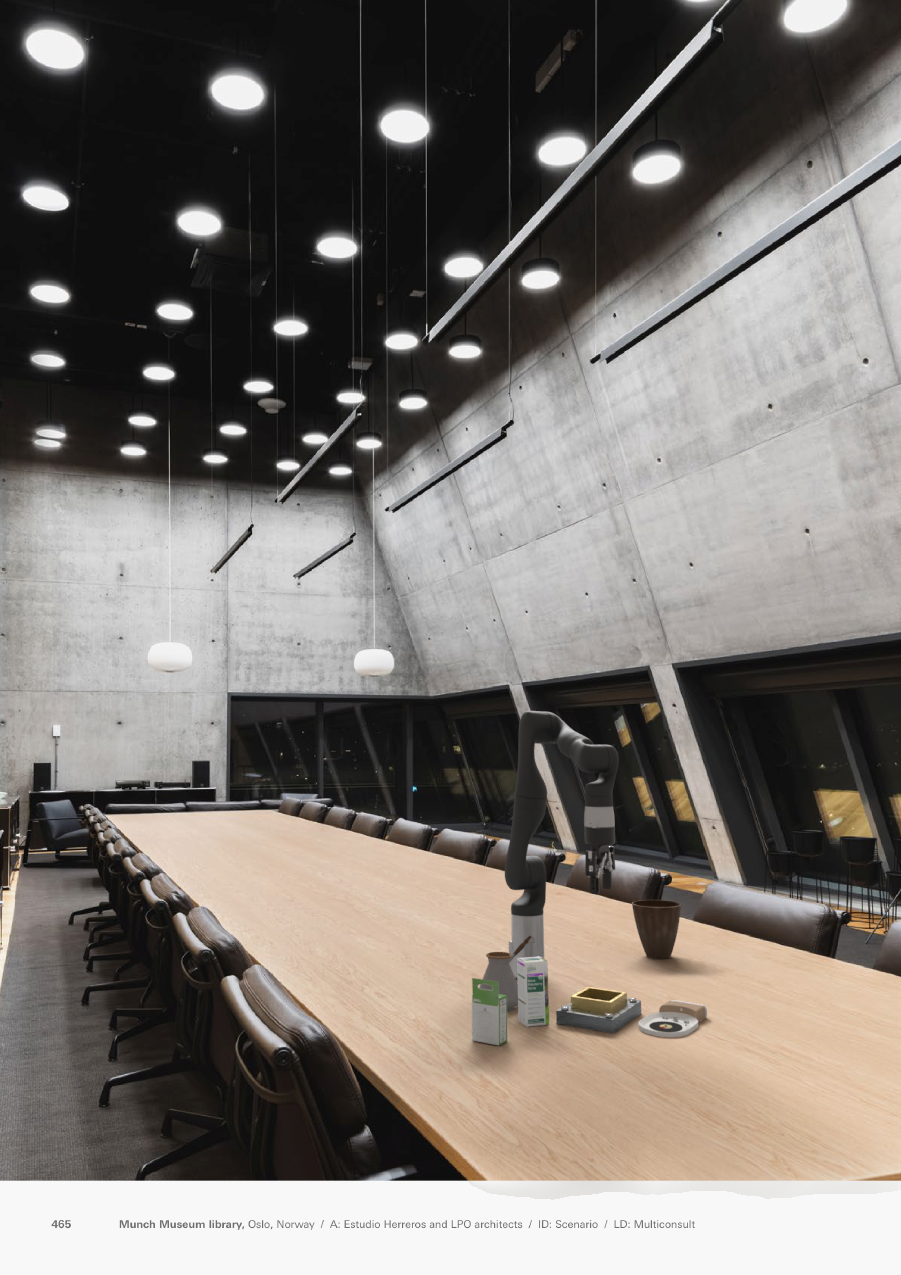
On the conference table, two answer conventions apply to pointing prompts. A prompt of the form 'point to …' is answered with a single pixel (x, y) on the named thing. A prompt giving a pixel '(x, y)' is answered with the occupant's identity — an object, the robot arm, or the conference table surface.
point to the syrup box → (533, 991)
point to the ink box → (488, 1013)
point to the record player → (674, 1019)
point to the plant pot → (657, 926)
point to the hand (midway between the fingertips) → (601, 891)
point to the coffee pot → (504, 974)
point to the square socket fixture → (599, 1010)
